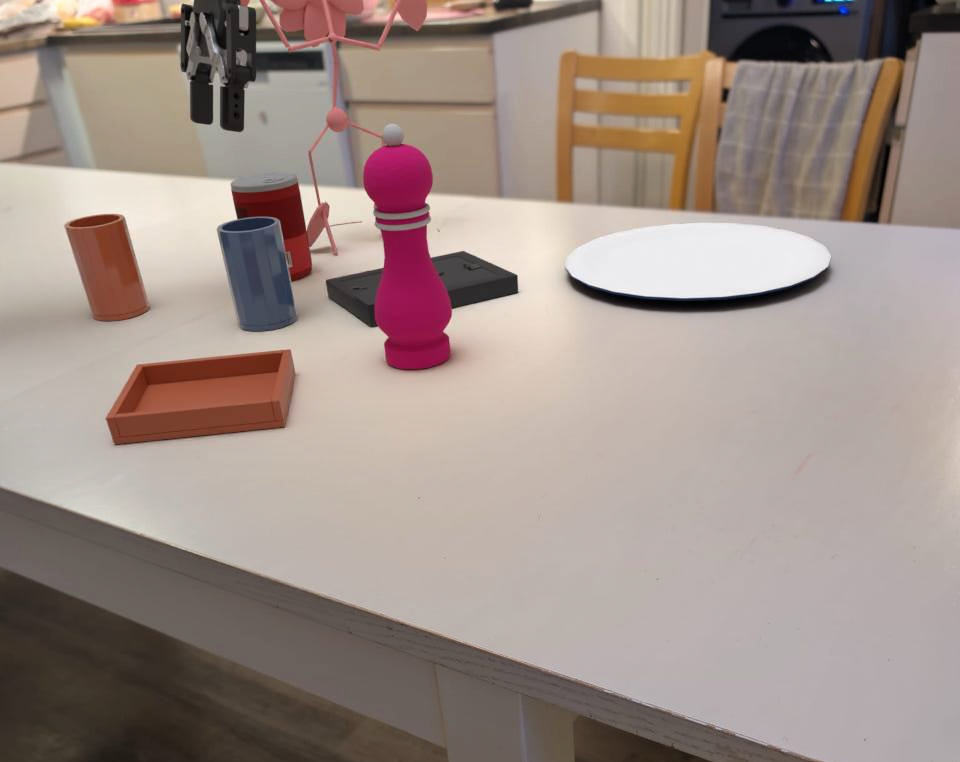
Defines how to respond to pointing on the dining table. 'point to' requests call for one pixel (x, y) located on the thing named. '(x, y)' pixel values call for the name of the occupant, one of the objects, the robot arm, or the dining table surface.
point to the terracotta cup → (107, 266)
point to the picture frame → (457, 271)
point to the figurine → (318, 10)
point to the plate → (698, 261)
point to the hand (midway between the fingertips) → (216, 127)
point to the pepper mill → (406, 256)
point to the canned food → (277, 212)
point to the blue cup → (258, 273)
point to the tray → (203, 397)
